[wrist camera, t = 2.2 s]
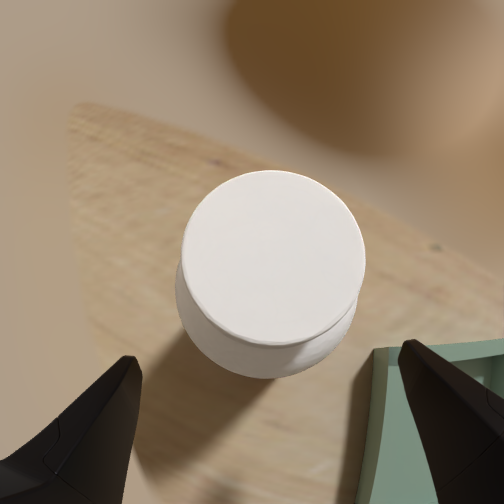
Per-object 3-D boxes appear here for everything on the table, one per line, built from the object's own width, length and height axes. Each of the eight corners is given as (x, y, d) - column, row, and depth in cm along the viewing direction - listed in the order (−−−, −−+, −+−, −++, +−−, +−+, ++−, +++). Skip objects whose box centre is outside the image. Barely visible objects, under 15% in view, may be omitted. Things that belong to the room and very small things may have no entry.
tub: (474, 492, 13) (490, 499, 11) (348, 527, 14) (358, 542, 11) (496, 340, 18) (515, 336, 16) (373, 348, 19) (389, 346, 16)
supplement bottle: (324, 349, 19) (435, 333, 7) (226, 381, 18) (179, 425, 6) (292, 256, 21) (340, 126, 9) (198, 283, 20) (127, 177, 8)
